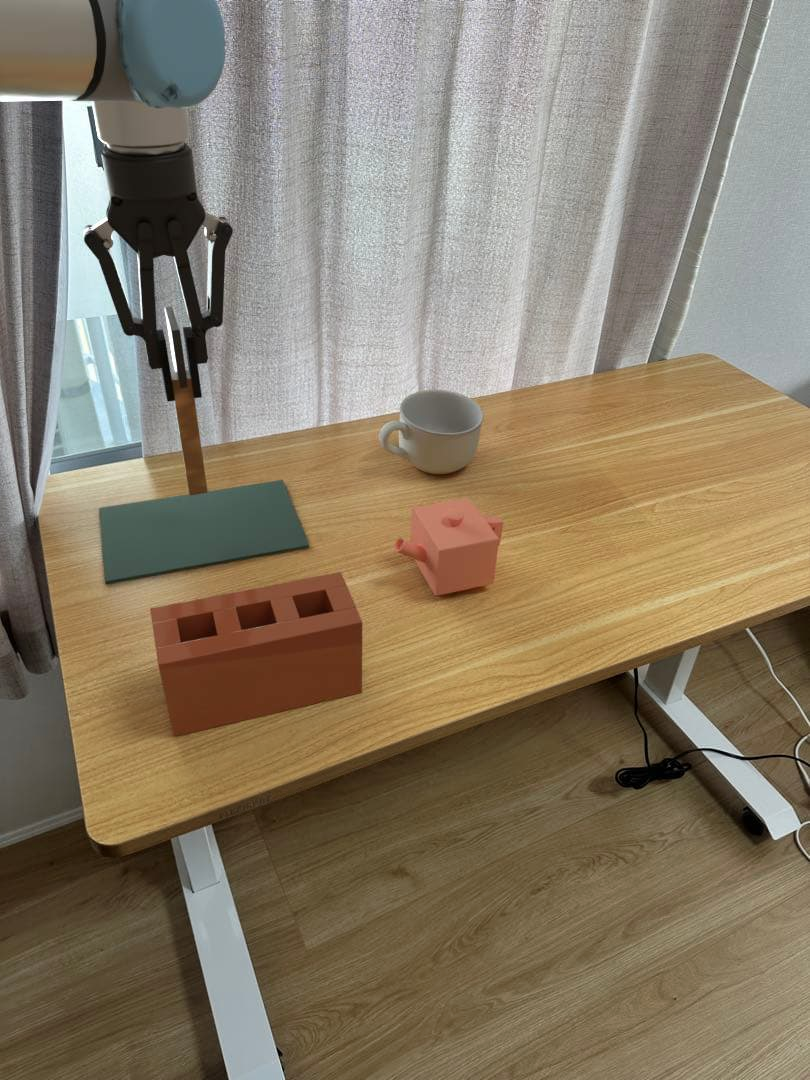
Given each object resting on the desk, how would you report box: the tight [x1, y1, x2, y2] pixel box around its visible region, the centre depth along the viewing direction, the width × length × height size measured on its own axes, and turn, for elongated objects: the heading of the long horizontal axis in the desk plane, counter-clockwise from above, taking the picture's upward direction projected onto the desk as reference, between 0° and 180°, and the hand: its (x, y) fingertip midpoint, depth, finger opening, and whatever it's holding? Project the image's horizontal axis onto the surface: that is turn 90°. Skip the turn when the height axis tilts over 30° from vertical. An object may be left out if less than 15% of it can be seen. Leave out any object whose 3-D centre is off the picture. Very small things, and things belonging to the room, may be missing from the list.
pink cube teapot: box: [393, 497, 505, 597], centre depth 86 cm, size 8×12×8 cm, turn 110°
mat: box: [98, 479, 310, 585], centre depth 93 cm, size 22×14×1 cm, turn 109°
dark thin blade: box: [164, 306, 209, 495], centre depth 84 cm, size 2×6×20 cm, turn 19°
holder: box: [149, 571, 363, 737], centre depth 72 cm, size 7×17×9 cm, turn 109°
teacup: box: [378, 389, 485, 475], centre depth 104 cm, size 14×11×8 cm
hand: (183, 393), depth 83 cm, fingers closed on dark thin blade, 2 cm apart
